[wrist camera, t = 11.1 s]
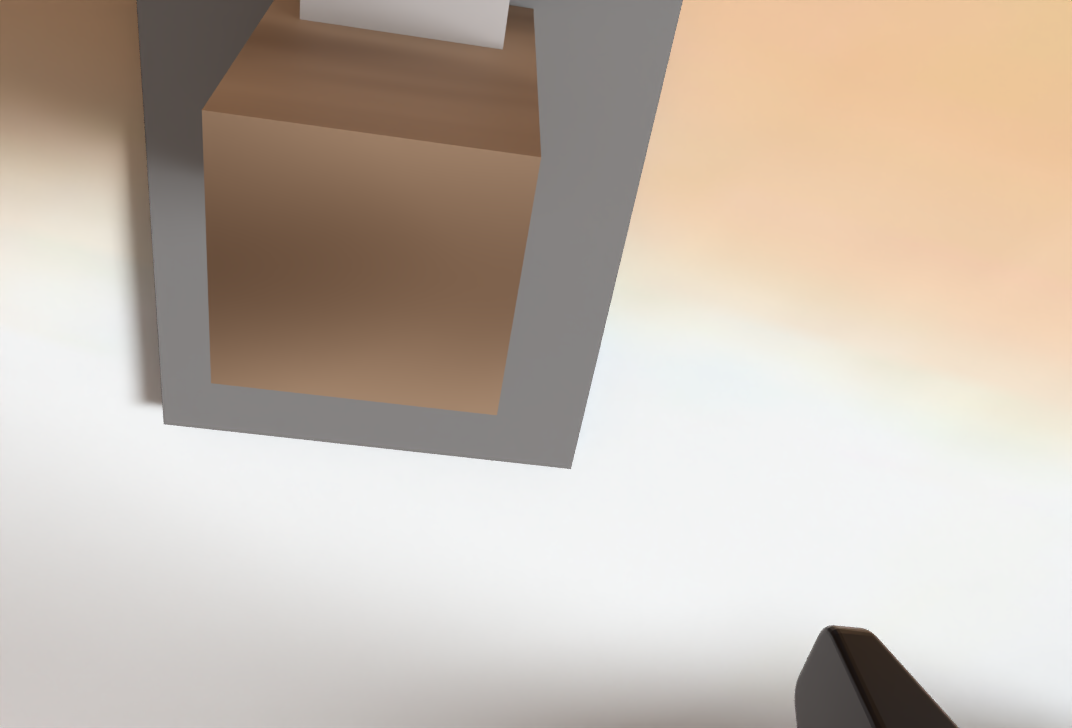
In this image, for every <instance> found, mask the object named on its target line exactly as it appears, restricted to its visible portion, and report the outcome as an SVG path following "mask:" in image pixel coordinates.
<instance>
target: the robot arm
mask: <svg viewBox="0 0 1072 728" xmlns="http://www.w3.org/2000/svg"><path fill="white" fill-rule="evenodd" d="M795 711H796V721H797V728H959V727H958V726H957V725H956V724H955V723H954V722H953V721H952V720H951V719H950V717H949V716H948V715H947V714H946V713H945V712H944V711H943V710H942V709H941V707H940V706H939V705H938V704H937V703H936V702H935V701H934V700H933V699H932V698H931V696H930V695H929V694H928V693H927V692H926V691H925V690H924V689H923V688H922V686H921V685H920V684H919V683H918V682H917V681H916V680H915V679H914V678H913V676H912V675H911V674H910V673H909V672H908V671H907V670H906V669H905V668H904V666H903V665H902V664H901V663H900V662H899V661H898V660H897V659H896V658H895V656H894V655H893V654H892V653H891V652H890V651H889V650H888V649H887V648H886V646H885V645H884V644H883V643H882V642H881V641H880V640H879V639H878V638H877V637H876V636H875V635H874V634H873V633H872V632H870V631H869V630H866V629H863V628H855V627H845V626H835V625H831V626H827V627H825V628H824V629H823V630H822V631H821V632H820V634H819V636H818V638H817V640H816V642H815V644H814V646H813V648H812V650H811V652H810V654H809V656H808V658H807V660H806V662H805V664H804V667H803V669H802V671H801V673H800V675H799V677H798V680H797V684H796V688H795Z"/></svg>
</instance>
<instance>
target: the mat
mask: <svg viewBox="0 0 1072 728" xmlns="http://www.w3.org/2000/svg"><path fill="white" fill-rule="evenodd" d="M273 1H274V0H137V14H138V30H139V45H140V61H141V76H142V92H143V107H144V123H145V138H146V154H147V170H148V185H149V201H150V216H151V232H152V247H153V263H154V279H155V294H156V310H157V325H158V341H159V356H160V372H161V388H162V403H163V419H164V424H168V425H177V426H186V427H195V428H204V429H213V430H222V431H231V432H240V433H249V434H259V435H268V436H277V437H286V438H295V439H304V440H313V441H322V442H331V443H340V444H349V445H358V446H368V447H377V448H386V449H395V450H404V451H413V452H422V453H431V454H440V455H449V456H458V457H467V458H476V459H486V460H495V461H504V462H513V463H522V464H531V465H540V466H549V467H558V468H567V469H571V466H572V462H573V458H574V453H575V449H576V445H577V441H578V437H579V432H580V428H581V424H582V420H583V416H584V411H585V407H586V403H587V399H588V395H589V391H590V386H591V382H592V378H593V374H594V370H595V365H596V361H597V357H598V353H599V349H600V345H601V340H602V336H603V332H604V328H605V324H606V319H607V315H608V311H609V307H610V303H611V298H612V294H613V290H614V286H615V282H616V278H617V273H618V269H619V265H620V261H621V257H622V252H623V248H624V244H625V240H626V236H627V232H628V227H629V223H630V219H631V215H632V211H633V206H634V202H635V198H636V194H637V190H638V185H639V181H640V177H641V173H642V169H643V165H644V160H645V156H646V152H647V148H648V144H649V139H650V135H651V131H652V127H653V123H654V118H655V114H656V110H657V106H658V102H659V98H660V93H661V89H662V85H663V81H664V77H665V72H666V68H667V64H668V60H669V56H670V52H671V47H672V43H673V39H674V35H675V31H676V26H677V22H678V18H679V14H680V10H681V5H682V1H683V0H510V2H509V5H512V6H518V7H525V8H531V9H534V28H535V47H536V67H537V86H538V105H539V125H540V144H541V161H540V167H539V173H538V179H537V185H536V190H535V196H534V202H533V208H532V214H531V220H530V225H529V231H528V237H527V243H526V249H525V255H524V260H523V266H522V272H521V278H520V284H519V289H518V295H517V301H516V307H515V313H514V319H513V324H512V330H511V336H510V342H509V348H508V354H507V359H506V365H505V371H504V377H503V383H502V388H501V394H500V400H499V406H498V412H497V415H490V414H481V413H472V412H463V411H454V410H445V409H436V408H427V407H418V406H409V405H401V404H392V403H383V402H374V401H365V400H356V399H347V398H338V397H329V396H320V395H311V394H302V393H293V392H285V391H276V390H267V389H258V388H249V387H240V386H231V385H222V384H213V383H211V368H210V338H209V308H208V278H207V249H206V219H205V189H204V160H203V130H202V109H203V108H204V106H205V105H206V103H207V101H208V100H209V98H210V97H211V95H212V94H213V92H214V91H215V89H216V88H217V86H218V85H219V83H220V82H221V80H222V79H223V77H224V76H225V74H226V73H227V71H228V69H229V68H230V66H231V65H232V63H233V62H234V60H235V59H236V57H237V56H238V54H239V53H240V51H241V50H242V48H243V47H244V45H245V44H246V42H247V41H248V39H249V38H250V36H251V34H252V33H253V31H254V30H255V28H256V27H257V25H258V24H259V22H260V21H261V19H262V18H263V16H264V15H265V13H266V12H267V10H268V9H269V7H270V6H271V4H272V3H273Z"/></svg>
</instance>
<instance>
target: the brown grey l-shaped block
mask: <svg viewBox="0 0 1072 728" xmlns="http://www.w3.org/2000/svg"><path fill="white" fill-rule="evenodd" d="M509 2H510V0H274V1H273V3H272V4H271V6H270V7H269V9H268V10H267V12H266V13H265V15H264V16H263V18H262V19H261V21H260V22H259V24H258V25H257V27H256V28H255V30H254V31H253V33H252V34H251V36H250V38H249V39H248V41H247V42H246V44H245V45H244V47H243V48H242V50H241V51H240V53H239V54H238V56H237V57H236V59H235V60H234V62H233V63H232V65H231V66H230V68H229V69H228V71H227V73H226V74H225V76H224V77H223V79H222V80H221V82H220V83H219V85H218V86H217V88H216V89H215V91H214V92H213V94H212V95H211V97H210V98H209V100H208V101H207V103H206V105H205V106H204V108H203V109H202V130H203V160H204V189H205V219H206V249H207V278H208V308H209V338H210V368H211V383H213V384H222V385H231V386H240V387H249V388H258V389H267V390H276V391H285V392H293V393H302V394H311V395H320V396H329V397H338V398H347V399H356V400H365V401H374V402H383V403H392V404H401V405H409V406H418V407H427V408H436V409H445V410H454V411H463V412H472V413H481V414H490V415H497V412H498V406H499V400H500V394H501V388H502V383H503V377H504V371H505V365H506V359H507V354H508V348H509V342H510V336H511V330H512V324H513V319H514V313H515V307H516V301H517V295H518V289H519V284H520V278H521V272H522V266H523V260H524V255H525V249H526V243H527V237H528V231H529V225H530V220H531V214H532V208H533V202H534V196H535V190H536V185H537V179H538V173H539V167H540V161H541V144H540V125H539V105H538V86H537V67H536V47H535V28H534V9H531V8H525V7H518V6H512V5H509Z"/></svg>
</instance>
